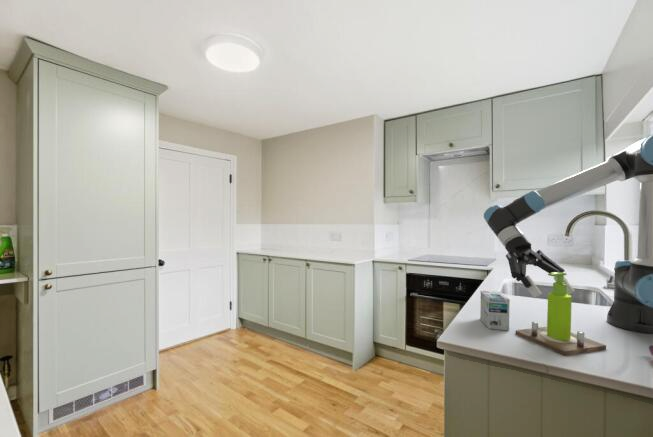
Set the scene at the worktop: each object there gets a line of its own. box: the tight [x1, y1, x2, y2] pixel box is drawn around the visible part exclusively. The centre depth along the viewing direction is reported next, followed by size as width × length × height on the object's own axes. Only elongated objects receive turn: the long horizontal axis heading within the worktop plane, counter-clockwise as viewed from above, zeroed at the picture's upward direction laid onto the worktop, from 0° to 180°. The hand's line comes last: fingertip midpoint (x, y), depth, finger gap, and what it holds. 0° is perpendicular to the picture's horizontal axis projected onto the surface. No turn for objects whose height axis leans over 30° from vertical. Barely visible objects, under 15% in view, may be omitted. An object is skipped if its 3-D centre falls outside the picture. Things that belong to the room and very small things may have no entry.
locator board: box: [515, 321, 607, 357], centre depth 97 cm, size 16×16×5 cm
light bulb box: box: [479, 290, 511, 331], centre depth 111 cm, size 11×7×11 cm, turn 168°
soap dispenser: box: [546, 272, 573, 341], centre depth 97 cm, size 6×7×20 cm
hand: (554, 294), depth 98 cm, fingers open, 13 cm apart
